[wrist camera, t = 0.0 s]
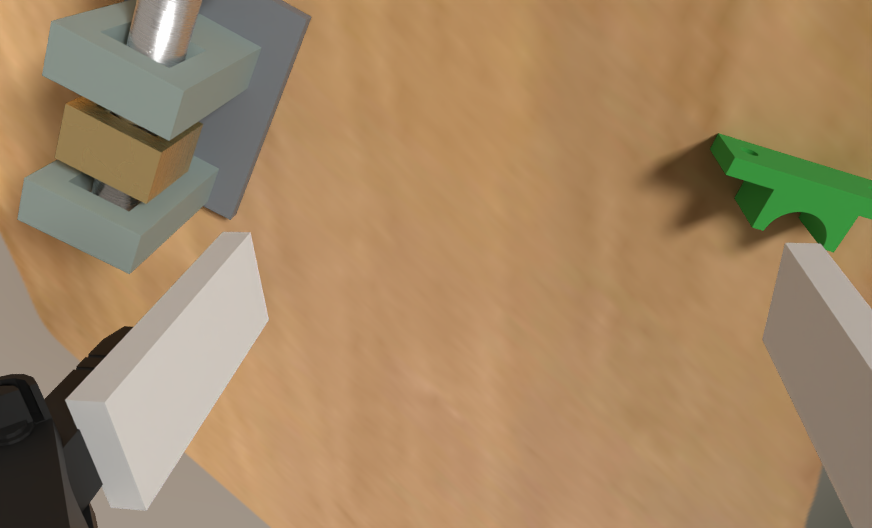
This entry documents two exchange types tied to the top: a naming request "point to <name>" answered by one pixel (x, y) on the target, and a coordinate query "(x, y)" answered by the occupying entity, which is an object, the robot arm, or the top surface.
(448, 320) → the top surface
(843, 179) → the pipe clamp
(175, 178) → the spacer
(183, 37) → the shaft
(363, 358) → the top surface
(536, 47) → the top surface
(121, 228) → the bearing stand
